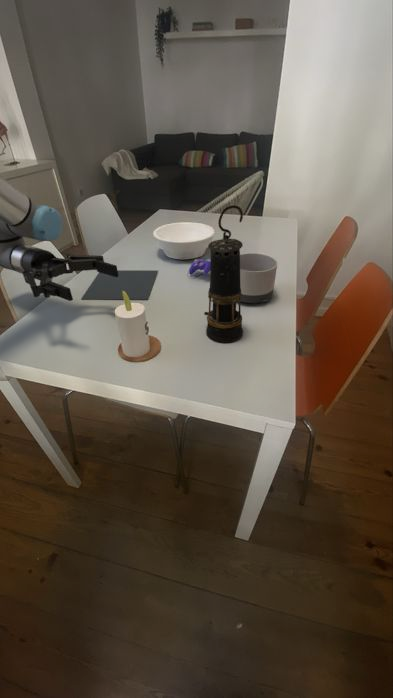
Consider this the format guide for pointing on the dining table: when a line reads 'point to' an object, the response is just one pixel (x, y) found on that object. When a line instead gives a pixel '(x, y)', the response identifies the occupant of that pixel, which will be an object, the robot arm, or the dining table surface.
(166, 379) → the dining table surface
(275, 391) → the dining table surface
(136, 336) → the candle
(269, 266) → the planter
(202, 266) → the game controller
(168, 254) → the bowl
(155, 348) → the coaster
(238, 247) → the lantern
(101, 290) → the placemat
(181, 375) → the dining table surface
